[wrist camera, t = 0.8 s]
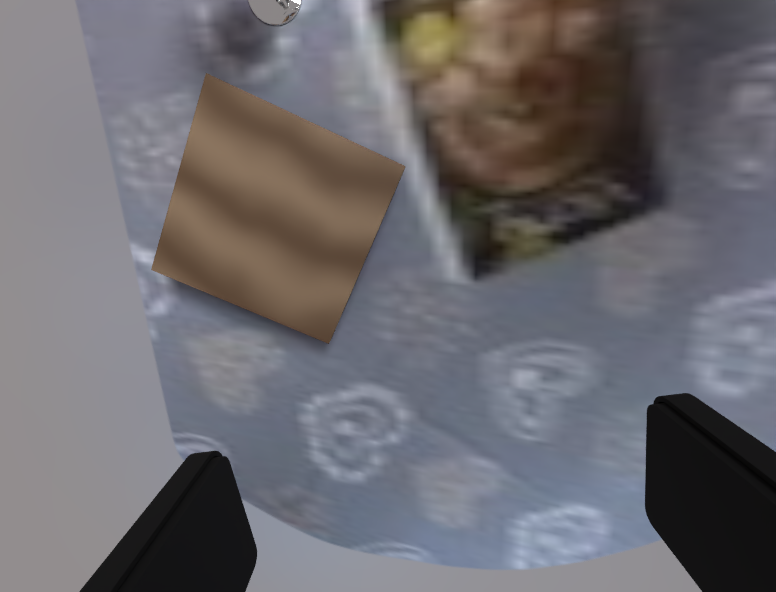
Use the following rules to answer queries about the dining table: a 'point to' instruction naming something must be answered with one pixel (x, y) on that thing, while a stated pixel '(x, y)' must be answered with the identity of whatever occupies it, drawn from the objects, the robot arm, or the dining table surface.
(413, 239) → the dining table surface
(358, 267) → the stand
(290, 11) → the wineglass
